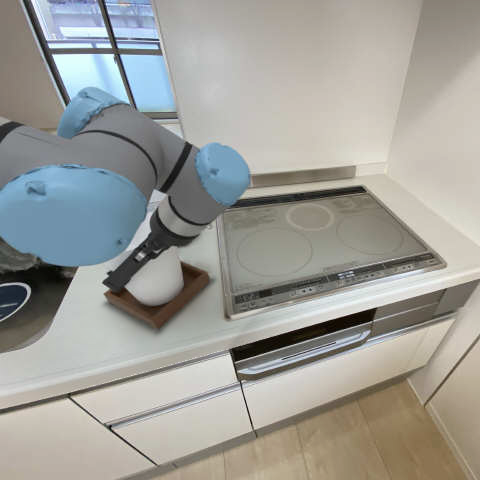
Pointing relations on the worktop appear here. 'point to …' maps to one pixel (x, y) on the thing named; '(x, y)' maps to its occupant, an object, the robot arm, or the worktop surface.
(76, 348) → the worktop surface
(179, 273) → the cup
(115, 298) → the tray
